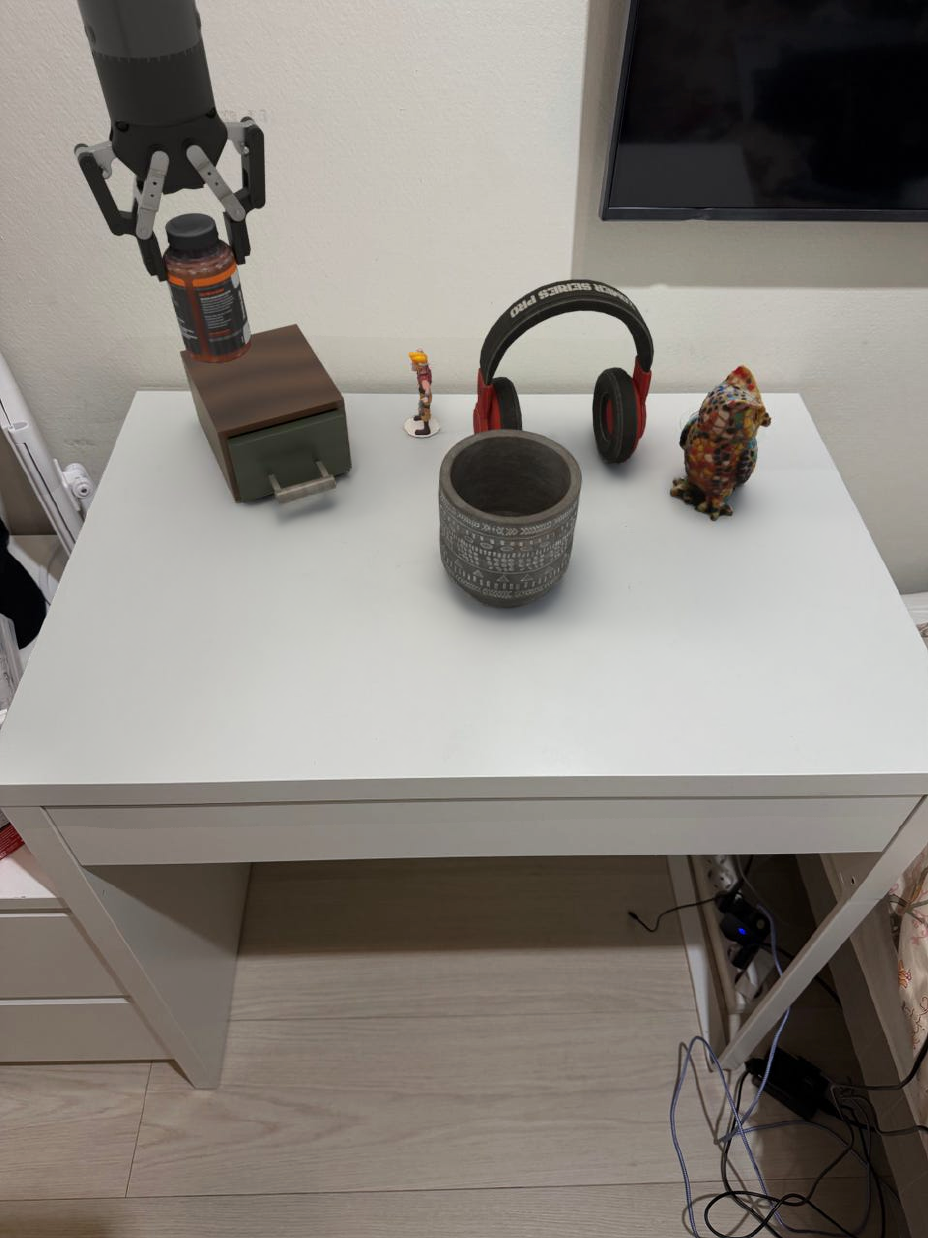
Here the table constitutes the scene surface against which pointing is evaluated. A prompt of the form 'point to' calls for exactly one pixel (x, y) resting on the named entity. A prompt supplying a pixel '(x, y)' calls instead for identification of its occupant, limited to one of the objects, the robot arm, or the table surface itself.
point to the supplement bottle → (205, 290)
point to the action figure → (422, 398)
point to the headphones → (615, 389)
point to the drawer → (290, 457)
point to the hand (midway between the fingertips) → (200, 267)
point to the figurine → (721, 444)
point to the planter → (507, 515)
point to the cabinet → (260, 391)
